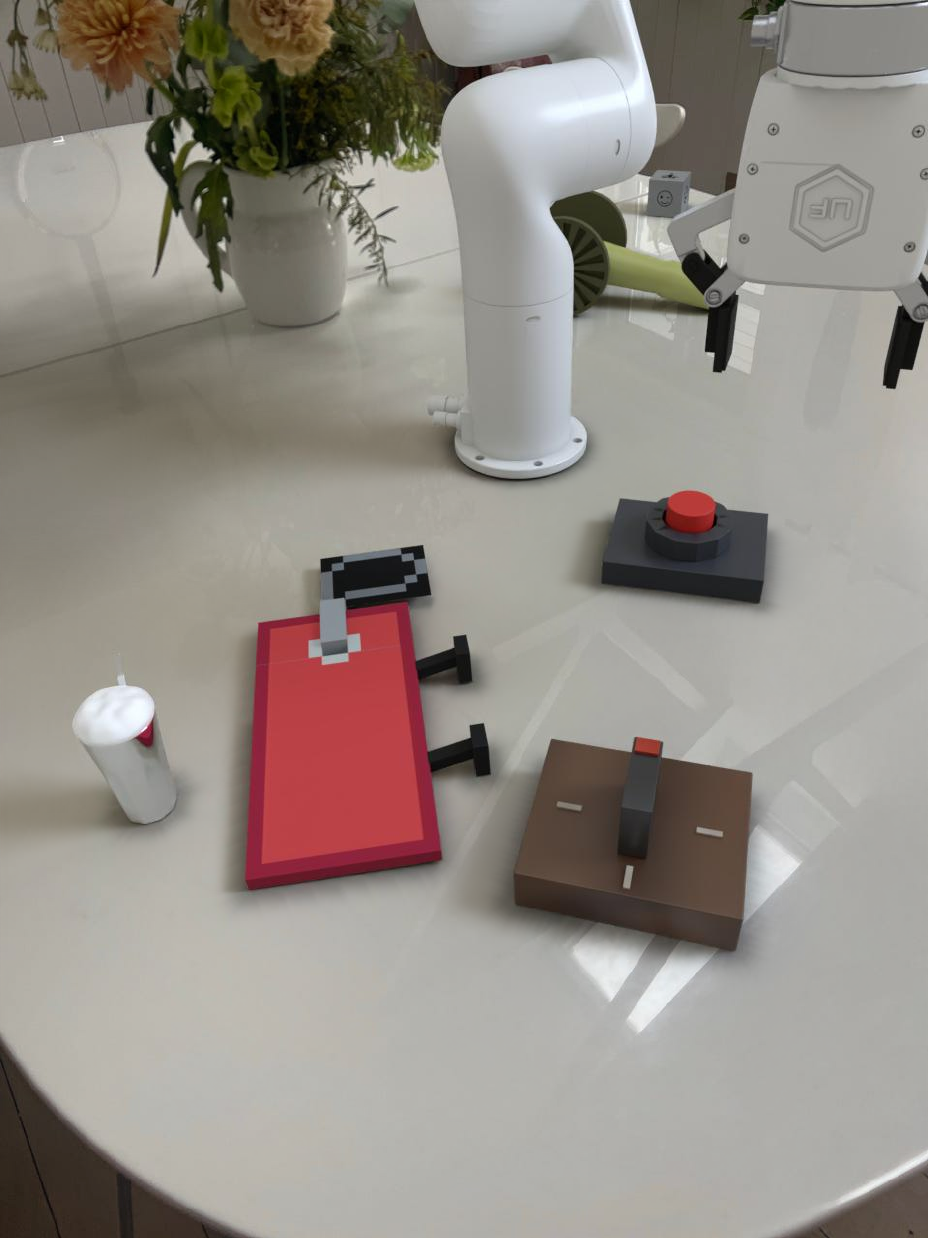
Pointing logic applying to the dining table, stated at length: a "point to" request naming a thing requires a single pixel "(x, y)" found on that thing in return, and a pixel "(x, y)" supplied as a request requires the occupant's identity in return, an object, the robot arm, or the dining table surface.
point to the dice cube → (668, 193)
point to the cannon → (613, 255)
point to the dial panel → (628, 885)
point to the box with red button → (640, 797)
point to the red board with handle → (348, 729)
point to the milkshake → (128, 748)
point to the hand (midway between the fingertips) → (803, 370)
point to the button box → (687, 552)
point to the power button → (690, 512)
